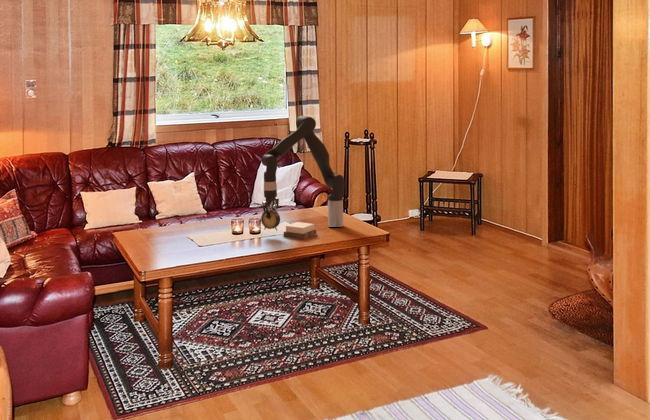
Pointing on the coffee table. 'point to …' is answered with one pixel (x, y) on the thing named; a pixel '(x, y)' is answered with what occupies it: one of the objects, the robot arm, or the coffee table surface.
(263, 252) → the coffee table surface
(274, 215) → the alarm clock
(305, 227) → the cream slab
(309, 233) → the walnut slab
